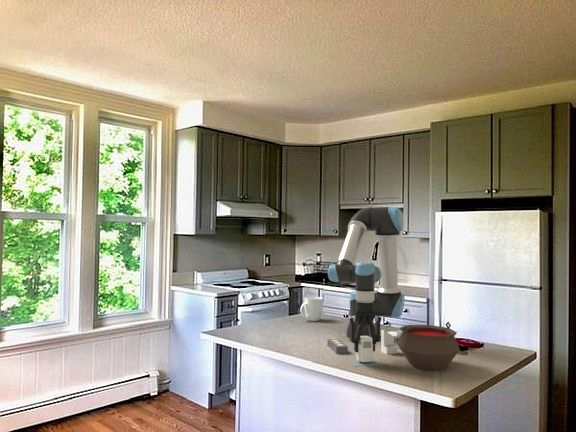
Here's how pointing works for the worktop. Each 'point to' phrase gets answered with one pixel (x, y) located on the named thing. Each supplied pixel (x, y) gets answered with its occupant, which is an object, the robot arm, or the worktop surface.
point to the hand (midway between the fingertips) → (364, 359)
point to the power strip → (337, 346)
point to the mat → (359, 363)
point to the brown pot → (428, 346)
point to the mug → (312, 308)
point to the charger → (366, 349)
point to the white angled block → (387, 343)
